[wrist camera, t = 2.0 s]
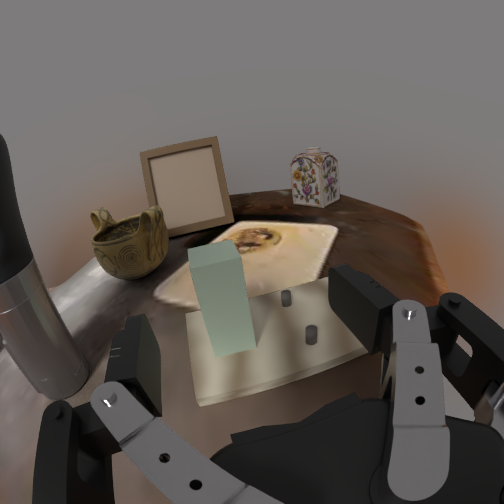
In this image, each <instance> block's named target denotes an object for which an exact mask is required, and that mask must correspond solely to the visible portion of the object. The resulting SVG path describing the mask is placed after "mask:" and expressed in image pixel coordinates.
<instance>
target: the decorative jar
mask: <svg viewBox="0 0 504 504" xmlns="http://www.w3.org/2000/svg"><path fill="white" fill-rule="evenodd" d="M305 150H306V153H301V154H298V155H296V156H295V157H294V159H293V160H292V162H291V163H290V171H291V183H292V194H293V203H294V204H296V205H304V206H311V207H317V208H325V207H326V206H328V205H330V204H332V203H334V202H336V201H338V200H339V199H340V188H339V173H338V162H337V159H336V158H335V157H334V156H333V155H332V154H330V153H327V152H321V150H320V147H312V148H306V149H305Z"/></svg>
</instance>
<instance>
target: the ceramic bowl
mask: <svg viewBox="0 0 504 504" xmlns="http://www.w3.org/2000/svg"><path fill="white" fill-rule="evenodd" d="M91 220H92V222H93V224H94V226H95V228H96V230H97V232H96V233H95V234H94V235H93V237H92V239H91V241H92V246H93V250H94V253H95V256H96V258H97V260H98V262H99V264H100V265H101V266H102V268H103V269H104V270H105V271H106V272H107V273H109V274H110V275H112V276H114V277H116V278H119V279H125V280H133V279H138V278H141V277H144V276H146V275H147V274H149V273H151V272H152V271H154V270H155V269H156V268H157V267H158V266H159V265H160V264H161V263H162V261H163V260H164V258H165V256H166V254H167V251H168V245H169V238H168V230H167V227H166V223H165V221H164V216H163V211H162V209H161V208H160V207H159V206H157V205H156V206H153V207H151V208H149V209H147V210H145V211H143V212H142V213H141V214H140V215H134V216H131V217H128V218H125V219H121V220H119V221H114V220H113V219H112V217H111V215H110V214H109V212H108V211H107V209H106V208H104V207H101V208H99V209H97V210H94V211H93V212H91Z"/></svg>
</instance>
